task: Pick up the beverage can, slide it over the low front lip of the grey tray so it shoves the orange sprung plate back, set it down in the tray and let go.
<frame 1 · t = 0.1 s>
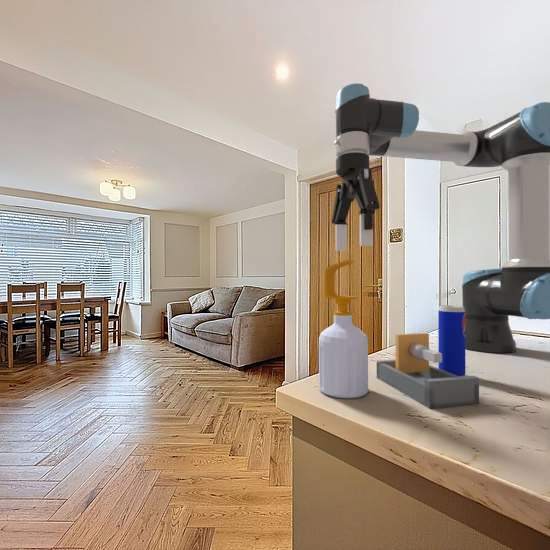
hand: (352, 248, 77), 28 cm above the counter, fingers open, 13 cm apart
beverage can: (451, 376, 72), on the counter
grey tray: (422, 389, 64), on the counter
soap bottle: (343, 391, 63), on the counter
pusher: (423, 357, 63), point 6 cm above the counter, slide at 0.0 cm
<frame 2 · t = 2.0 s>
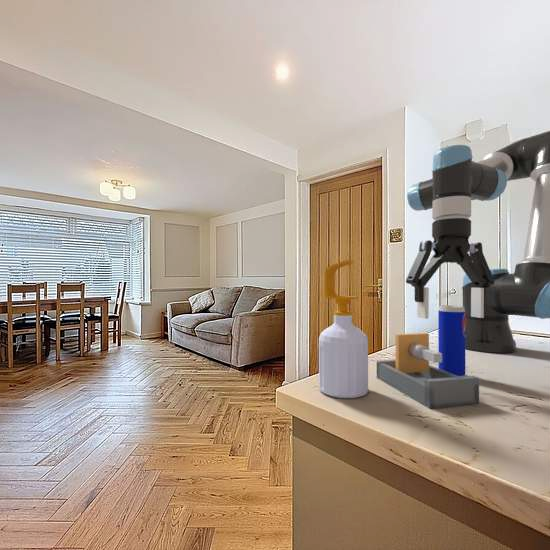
hand: (450, 317, 72), 13 cm above the counter, fingers open, 13 cm apart
nothing on the counter moved.
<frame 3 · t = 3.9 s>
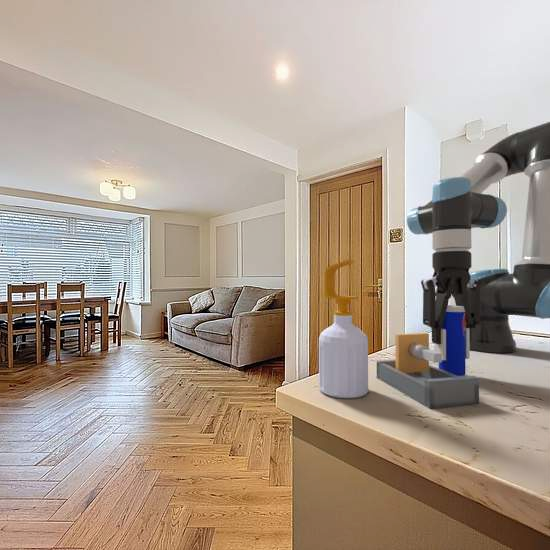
hand: (451, 357, 72), 4 cm above the counter, fingers closed on beverage can, 5 cm apart
beverage can: (451, 376, 72), on the counter, touching gripper
everything else where it was.
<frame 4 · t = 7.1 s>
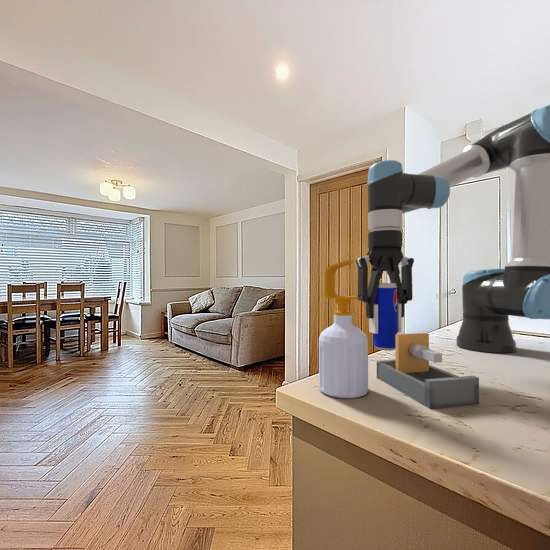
hand: (385, 332, 77), 9 cm above the counter, fingers closed on beverage can, 5 cm apart
beverage can: (385, 349, 77), point 5 cm above the counter, touching gripper
everything else where it was.
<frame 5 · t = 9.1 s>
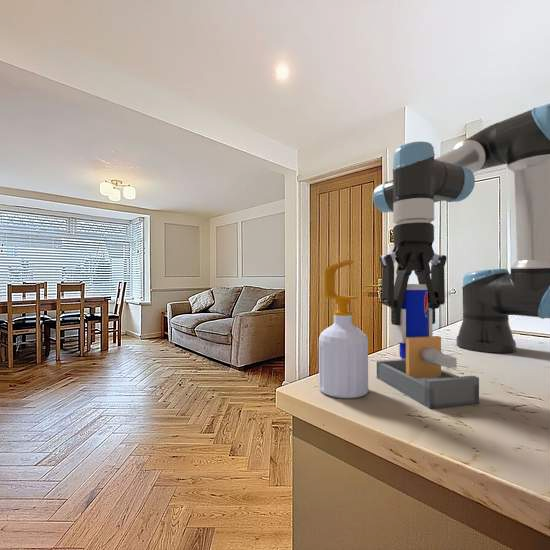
hand: (413, 340, 66), 9 cm above the counter, fingers closed on beverage can, 5 cm apart
beverage can: (413, 361, 66), point 5 cm above the counter, touching gripper
pusher: (436, 361, 60), point 6 cm above the counter, slide at 3.5 cm
everything else where it was.
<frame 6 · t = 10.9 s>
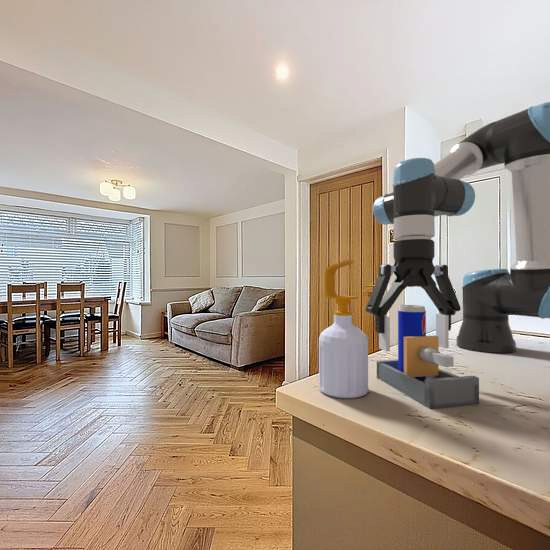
hand: (413, 348, 66), 7 cm above the counter, fingers open, 12 cm apart
beverage can: (411, 381, 67), resting on grey tray, pusher
pusher: (433, 360, 60), point 6 cm above the counter, slide at 2.8 cm, touching beverage can
everything else where it was.
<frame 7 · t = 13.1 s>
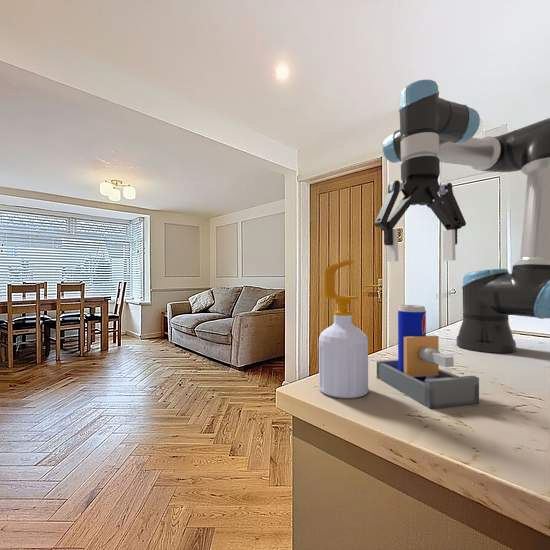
hand: (421, 261, 70), 25 cm above the counter, fingers open, 13 cm apart
nothing on the counter moved.
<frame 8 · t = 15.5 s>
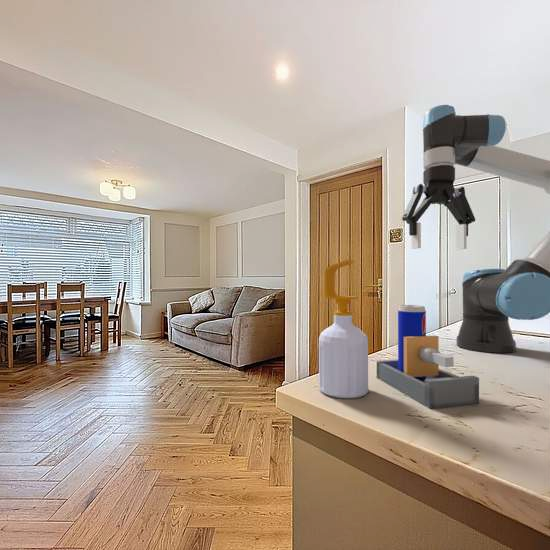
hand: (439, 248, 88), 29 cm above the counter, fingers open, 13 cm apart
nothing on the counter moved.
at the end: beverage can inside the target area (0.6 cm from its centre), resting on grey tray; beverage can tilted 0°; beverage can touching grey tray, pusher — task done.
